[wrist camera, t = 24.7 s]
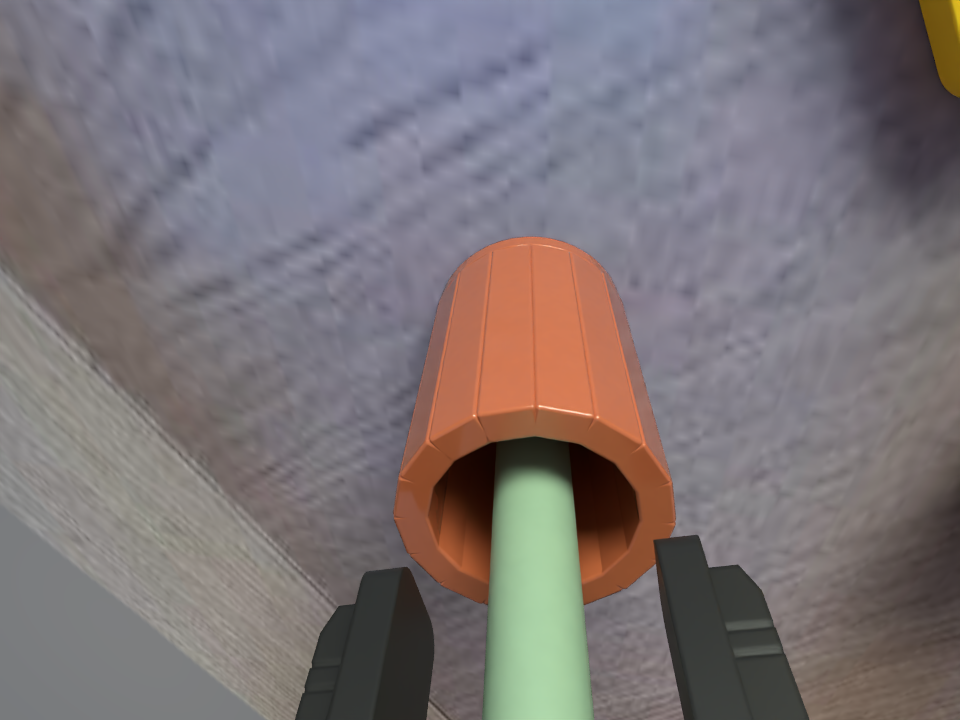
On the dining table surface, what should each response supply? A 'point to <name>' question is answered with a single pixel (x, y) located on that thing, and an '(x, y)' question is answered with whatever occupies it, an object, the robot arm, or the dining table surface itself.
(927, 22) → the phone case
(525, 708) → the green rod
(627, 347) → the pen cup
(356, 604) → the robot arm
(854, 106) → the dining table surface
